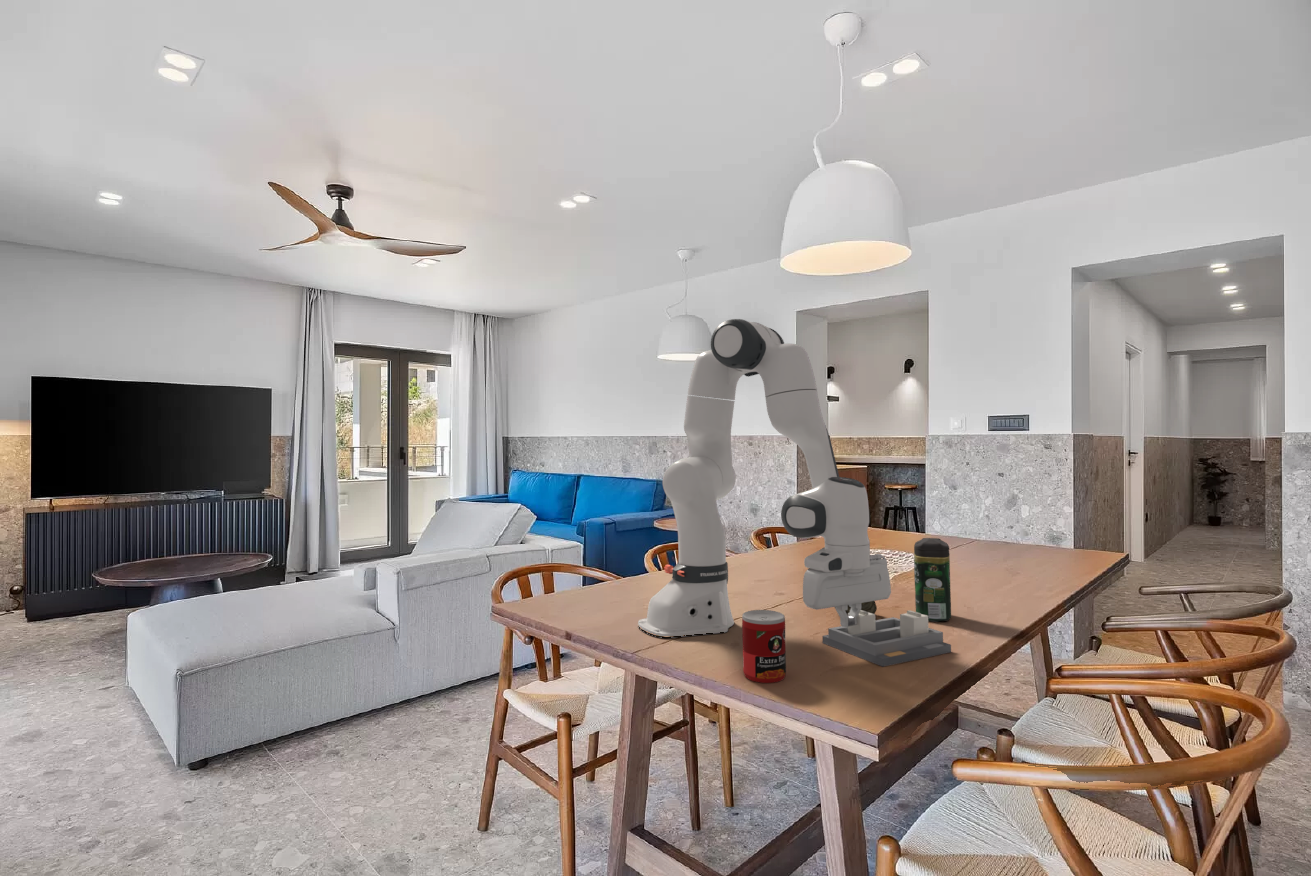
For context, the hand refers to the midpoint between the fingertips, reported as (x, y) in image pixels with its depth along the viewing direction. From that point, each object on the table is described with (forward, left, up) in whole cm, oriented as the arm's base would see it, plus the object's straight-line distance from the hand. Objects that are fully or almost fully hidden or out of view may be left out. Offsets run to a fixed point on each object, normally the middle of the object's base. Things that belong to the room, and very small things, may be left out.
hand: (848, 625), depth 136 cm
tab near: (+12, -6, -3) cm, 14 cm away
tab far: (+4, 0, -3) cm, 5 cm away
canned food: (-24, -5, -5) cm, 25 cm away
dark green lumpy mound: (+20, +20, -5) cm, 29 cm away
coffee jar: (+34, +9, -5) cm, 35 cm away
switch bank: (+7, -3, -5) cm, 9 cm away
